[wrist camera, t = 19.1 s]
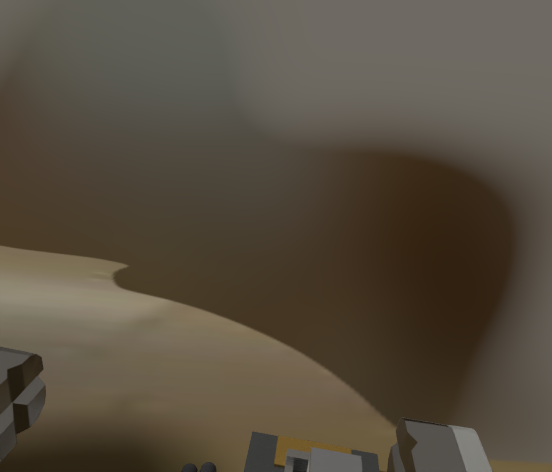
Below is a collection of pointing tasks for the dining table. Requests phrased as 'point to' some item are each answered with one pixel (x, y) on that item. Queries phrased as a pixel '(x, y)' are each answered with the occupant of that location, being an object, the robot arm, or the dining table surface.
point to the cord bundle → (208, 468)
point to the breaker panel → (293, 454)
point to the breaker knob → (333, 461)
